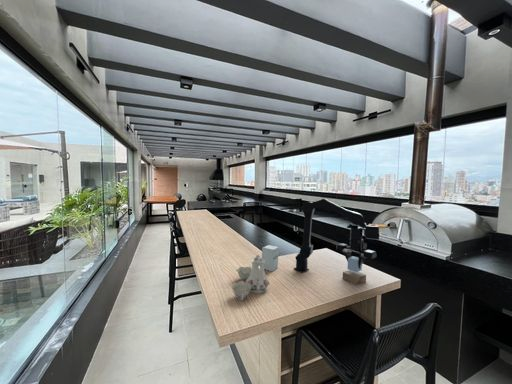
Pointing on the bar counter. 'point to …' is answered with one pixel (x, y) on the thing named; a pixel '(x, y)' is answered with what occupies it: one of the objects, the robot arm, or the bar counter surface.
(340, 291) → the bar counter surface
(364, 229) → the robot arm
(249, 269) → the grey lumpy piece
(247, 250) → the bar counter surface
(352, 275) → the walnut block
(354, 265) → the slate block
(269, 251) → the supplement box
